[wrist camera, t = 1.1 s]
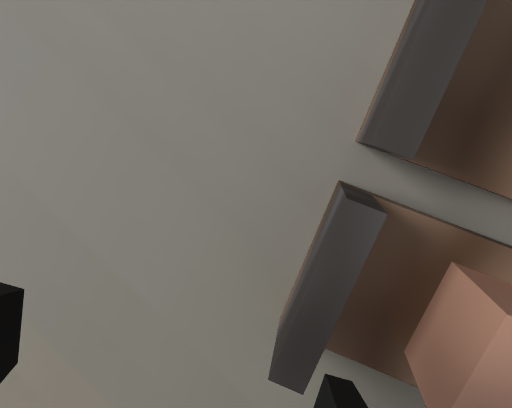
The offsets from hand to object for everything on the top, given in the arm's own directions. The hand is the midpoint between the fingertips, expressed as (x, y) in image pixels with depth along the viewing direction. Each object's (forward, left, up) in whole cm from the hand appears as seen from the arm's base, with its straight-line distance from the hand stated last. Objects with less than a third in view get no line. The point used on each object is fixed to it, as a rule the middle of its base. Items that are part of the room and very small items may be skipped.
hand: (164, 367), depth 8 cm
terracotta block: (-12, 0, -10) cm, 15 cm away
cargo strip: (-9, 0, -11) cm, 14 cm away
